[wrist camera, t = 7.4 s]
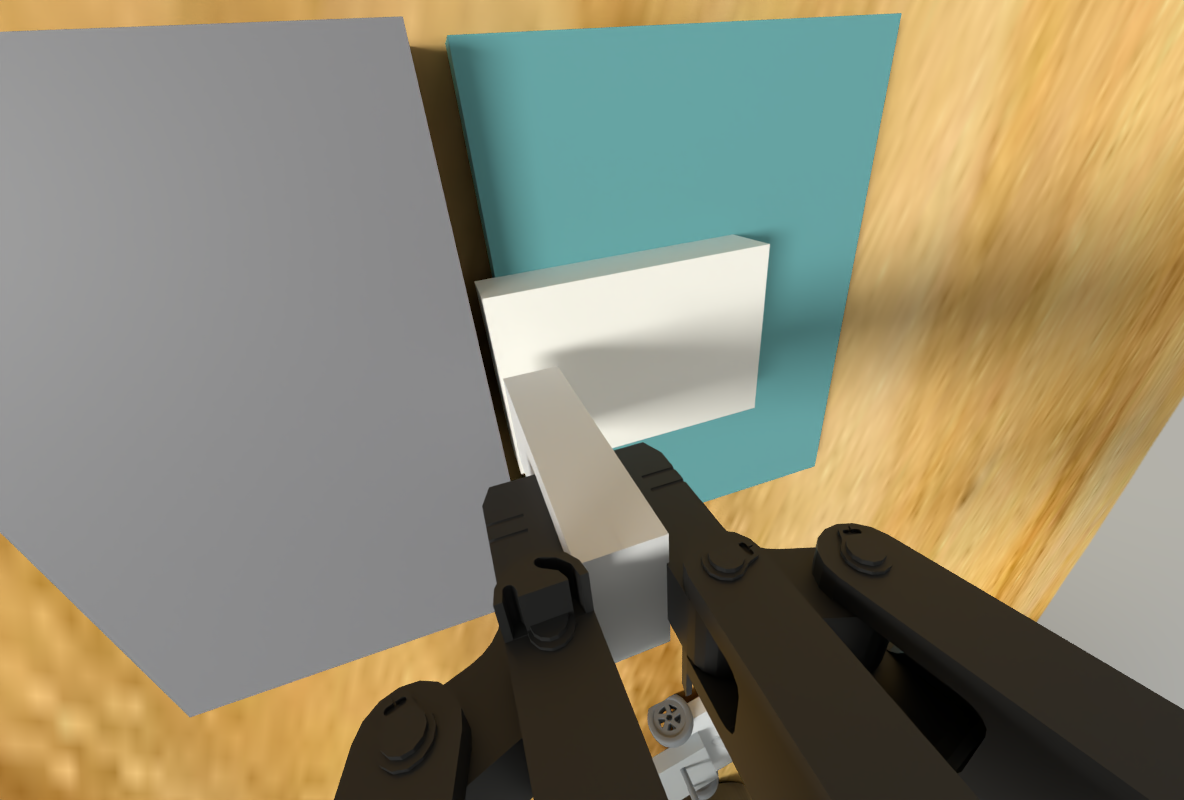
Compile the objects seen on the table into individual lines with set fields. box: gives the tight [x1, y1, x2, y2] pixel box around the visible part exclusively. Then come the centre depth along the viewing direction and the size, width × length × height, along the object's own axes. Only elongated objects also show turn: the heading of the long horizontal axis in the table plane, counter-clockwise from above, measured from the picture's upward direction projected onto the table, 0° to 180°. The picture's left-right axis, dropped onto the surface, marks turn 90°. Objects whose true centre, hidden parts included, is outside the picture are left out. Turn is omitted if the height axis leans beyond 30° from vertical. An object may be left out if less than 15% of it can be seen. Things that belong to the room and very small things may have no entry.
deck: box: [0, 17, 510, 717], centre depth 14 cm, size 18×12×3 cm, turn 6°
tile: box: [474, 235, 770, 474], centre depth 16 cm, size 6×9×2 cm, turn 96°
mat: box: [445, 13, 901, 502], centre depth 18 cm, size 18×14×1 cm
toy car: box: [648, 694, 733, 800], centre depth 31 cm, size 18×10×12 cm
